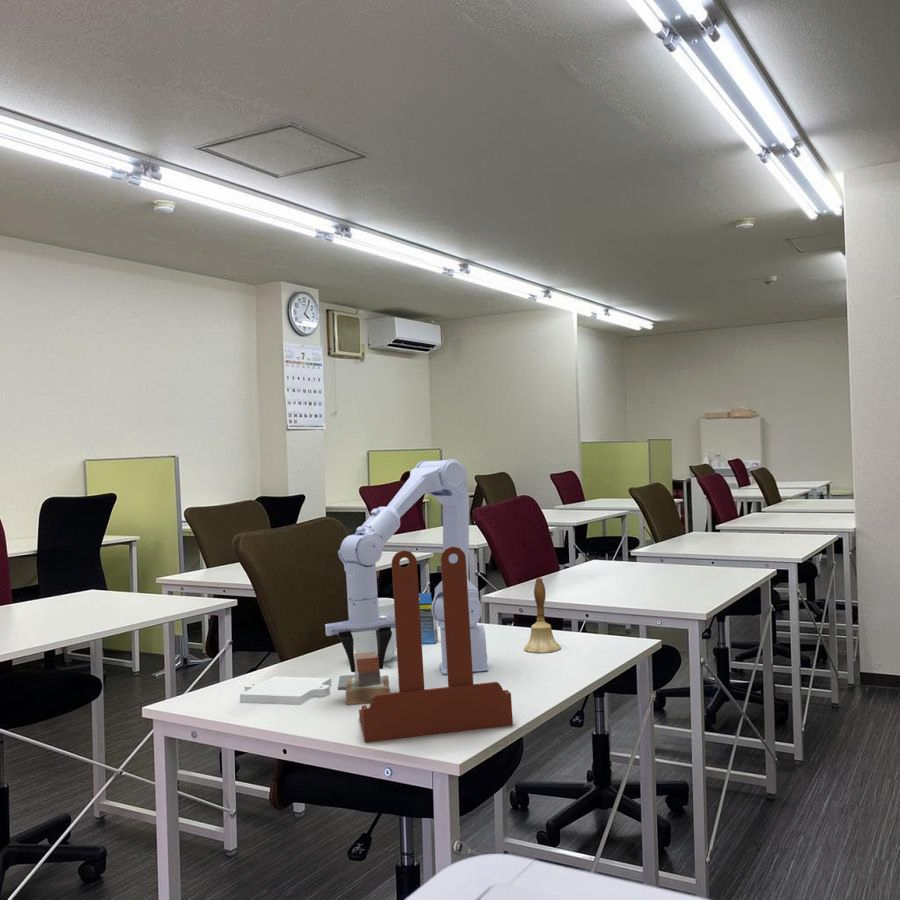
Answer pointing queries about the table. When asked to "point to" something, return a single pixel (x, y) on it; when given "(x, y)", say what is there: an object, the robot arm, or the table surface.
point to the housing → (367, 669)
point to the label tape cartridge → (427, 620)
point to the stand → (365, 691)
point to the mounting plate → (286, 690)
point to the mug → (368, 639)
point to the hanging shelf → (414, 704)
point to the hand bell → (541, 626)
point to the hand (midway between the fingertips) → (366, 669)
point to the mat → (344, 681)
